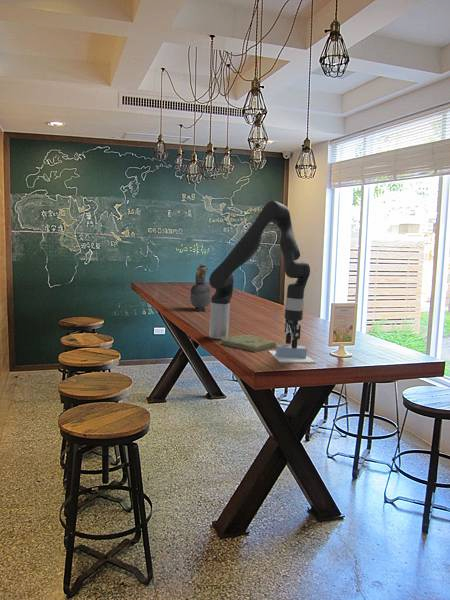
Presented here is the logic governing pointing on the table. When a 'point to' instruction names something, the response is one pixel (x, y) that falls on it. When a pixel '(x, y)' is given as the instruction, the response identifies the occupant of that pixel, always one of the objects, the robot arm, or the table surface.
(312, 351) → the table surface
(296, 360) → the mat
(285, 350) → the block
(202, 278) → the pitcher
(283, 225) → the robot arm
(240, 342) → the decorative tile
